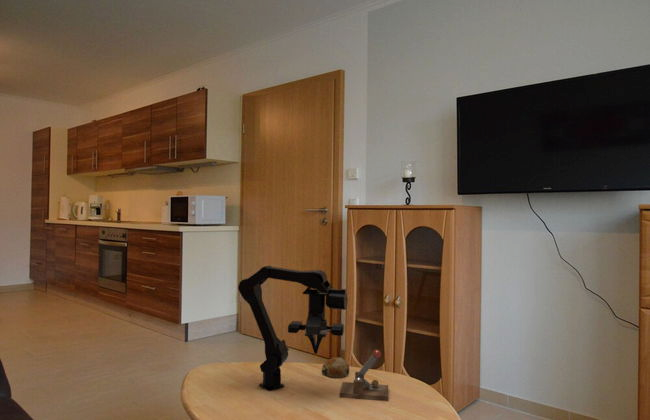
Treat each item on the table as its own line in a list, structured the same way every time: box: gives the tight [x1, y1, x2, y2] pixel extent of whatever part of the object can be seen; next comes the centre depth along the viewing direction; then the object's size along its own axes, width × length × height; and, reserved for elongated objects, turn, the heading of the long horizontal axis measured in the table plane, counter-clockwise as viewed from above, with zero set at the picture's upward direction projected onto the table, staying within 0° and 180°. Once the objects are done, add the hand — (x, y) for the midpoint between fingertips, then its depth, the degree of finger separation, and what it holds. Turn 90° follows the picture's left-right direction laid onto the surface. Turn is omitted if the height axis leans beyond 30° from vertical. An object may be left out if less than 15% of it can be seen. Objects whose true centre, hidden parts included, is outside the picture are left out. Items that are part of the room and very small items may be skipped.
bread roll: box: [321, 356, 350, 379], centre depth 173 cm, size 10×10×8 cm
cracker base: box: [339, 371, 389, 402], centre depth 155 cm, size 16×10×6 cm, turn 82°
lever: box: [354, 349, 382, 388], centre depth 155 cm, size 6×6×13 cm
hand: (315, 353), depth 156 cm, fingers closed
